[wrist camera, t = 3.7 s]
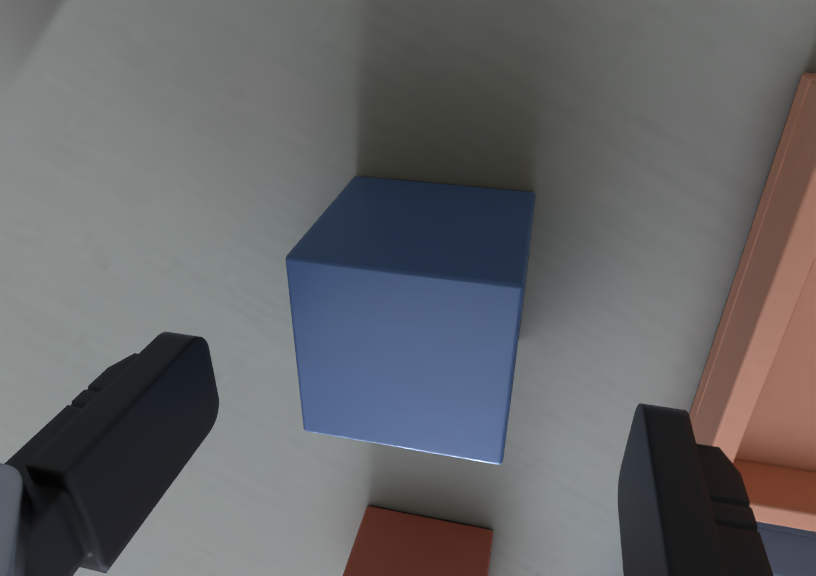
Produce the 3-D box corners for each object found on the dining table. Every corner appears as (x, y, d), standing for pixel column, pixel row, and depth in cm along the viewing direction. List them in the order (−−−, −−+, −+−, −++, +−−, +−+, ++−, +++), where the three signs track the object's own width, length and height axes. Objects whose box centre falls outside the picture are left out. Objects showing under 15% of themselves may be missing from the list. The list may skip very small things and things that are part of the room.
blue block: (359, 323, 17) (302, 432, 13) (354, 174, 15) (283, 256, 11) (516, 344, 16) (502, 467, 13) (536, 190, 14) (525, 285, 10)
